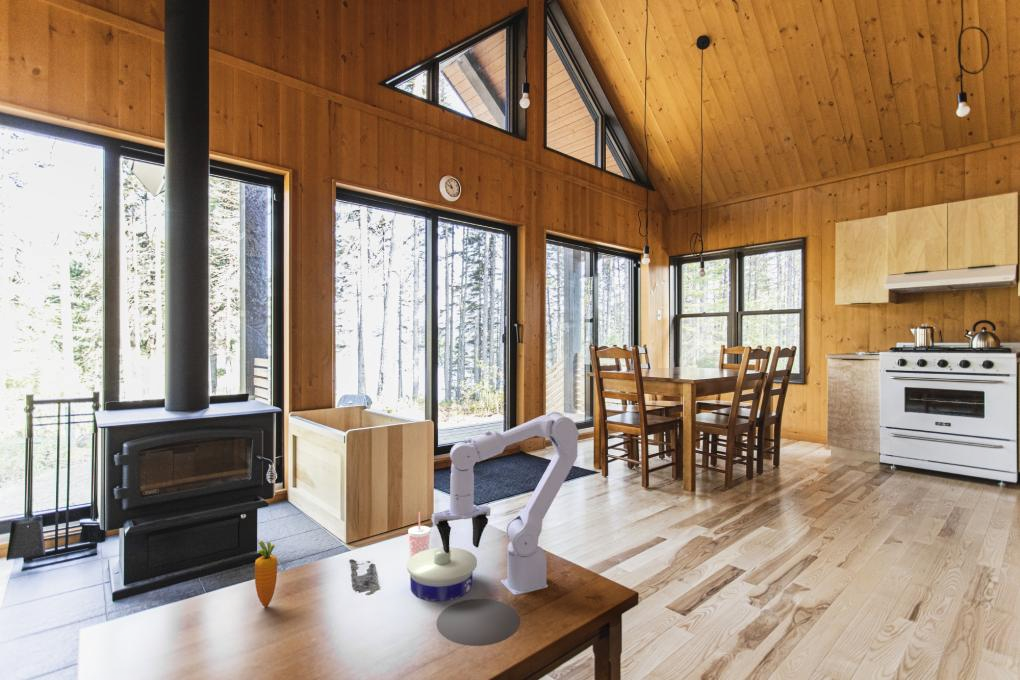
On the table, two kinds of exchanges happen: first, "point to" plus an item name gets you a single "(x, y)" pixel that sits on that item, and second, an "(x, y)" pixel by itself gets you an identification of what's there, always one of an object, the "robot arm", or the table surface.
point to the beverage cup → (418, 538)
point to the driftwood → (364, 578)
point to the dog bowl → (441, 588)
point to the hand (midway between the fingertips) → (461, 548)
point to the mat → (478, 622)
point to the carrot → (265, 574)
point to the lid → (441, 564)
